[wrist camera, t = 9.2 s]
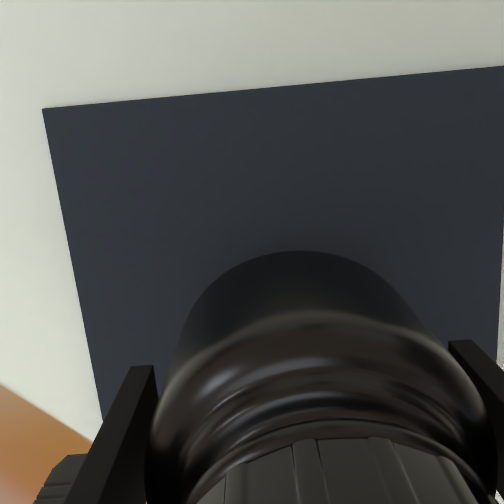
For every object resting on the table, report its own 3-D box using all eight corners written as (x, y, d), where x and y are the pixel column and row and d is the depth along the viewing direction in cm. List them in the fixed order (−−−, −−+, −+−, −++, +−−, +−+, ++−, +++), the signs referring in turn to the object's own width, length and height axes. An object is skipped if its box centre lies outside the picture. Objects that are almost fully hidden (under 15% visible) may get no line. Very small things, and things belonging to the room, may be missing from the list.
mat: (507, 65, 20) (512, 64, 20) (487, 462, 26) (491, 467, 25) (45, 109, 21) (41, 108, 21) (118, 488, 26) (116, 493, 26)
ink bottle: (165, 453, 19) (32, 967, 8) (168, 237, 17) (-19, 501, 5) (408, 465, 19) (645, 985, 8) (444, 253, 17) (865, 544, 5)
